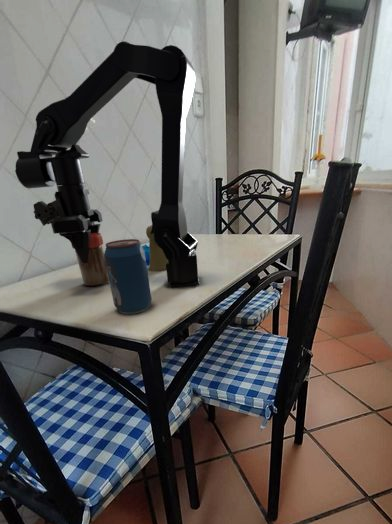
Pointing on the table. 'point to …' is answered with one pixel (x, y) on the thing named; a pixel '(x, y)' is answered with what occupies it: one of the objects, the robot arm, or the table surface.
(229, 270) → the table surface
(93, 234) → the lid
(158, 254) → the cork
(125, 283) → the soda can
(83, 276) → the jar
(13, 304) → the table surface
